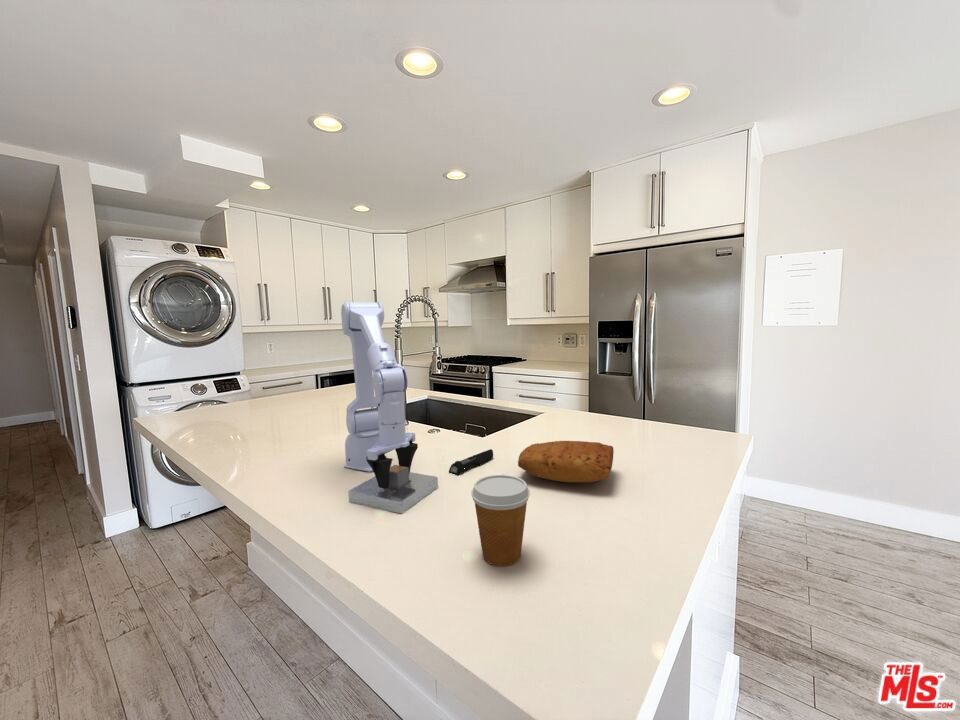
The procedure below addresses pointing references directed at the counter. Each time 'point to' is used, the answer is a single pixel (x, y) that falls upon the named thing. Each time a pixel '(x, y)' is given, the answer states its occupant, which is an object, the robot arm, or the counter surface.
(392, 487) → the plug
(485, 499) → the disposable coffee cup
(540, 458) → the baked loaf
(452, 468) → the electric trimmer
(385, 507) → the socket plate
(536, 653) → the counter surface
